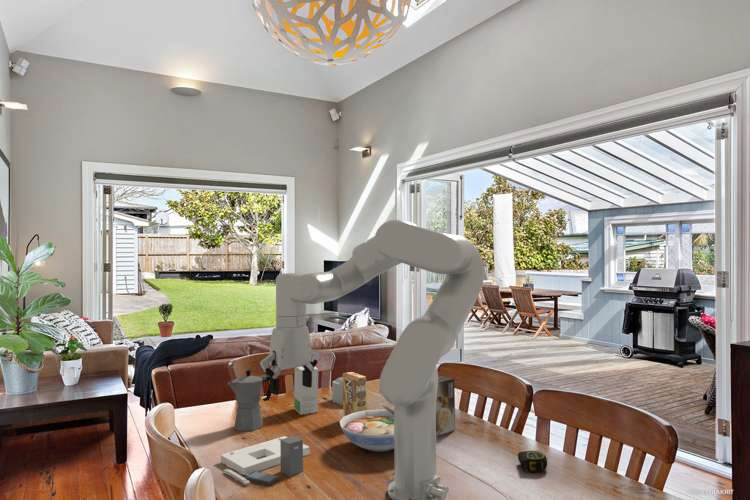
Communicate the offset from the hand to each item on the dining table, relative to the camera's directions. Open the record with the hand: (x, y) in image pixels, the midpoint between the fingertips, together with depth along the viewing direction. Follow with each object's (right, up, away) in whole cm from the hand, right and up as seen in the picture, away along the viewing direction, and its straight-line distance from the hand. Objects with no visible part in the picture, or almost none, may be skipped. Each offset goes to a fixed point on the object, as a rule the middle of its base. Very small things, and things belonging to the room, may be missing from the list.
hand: (291, 390), depth 131 cm
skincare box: (-3, -21, +51) cm, 55 cm away
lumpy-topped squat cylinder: (+12, -21, +62) cm, 67 cm away
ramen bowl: (+22, -21, +15) cm, 34 cm away
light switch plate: (-8, -21, +8) cm, 24 cm away
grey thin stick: (-13, -21, -4) cm, 24 cm away
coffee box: (+40, -21, +29) cm, 54 cm away
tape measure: (+60, -20, 0) cm, 64 cm away
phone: (-6, -20, -5) cm, 22 cm away
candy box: (+14, -21, +38) cm, 46 cm away
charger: (0, -20, 0) cm, 20 cm away
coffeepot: (-18, -21, +35) cm, 45 cm away
